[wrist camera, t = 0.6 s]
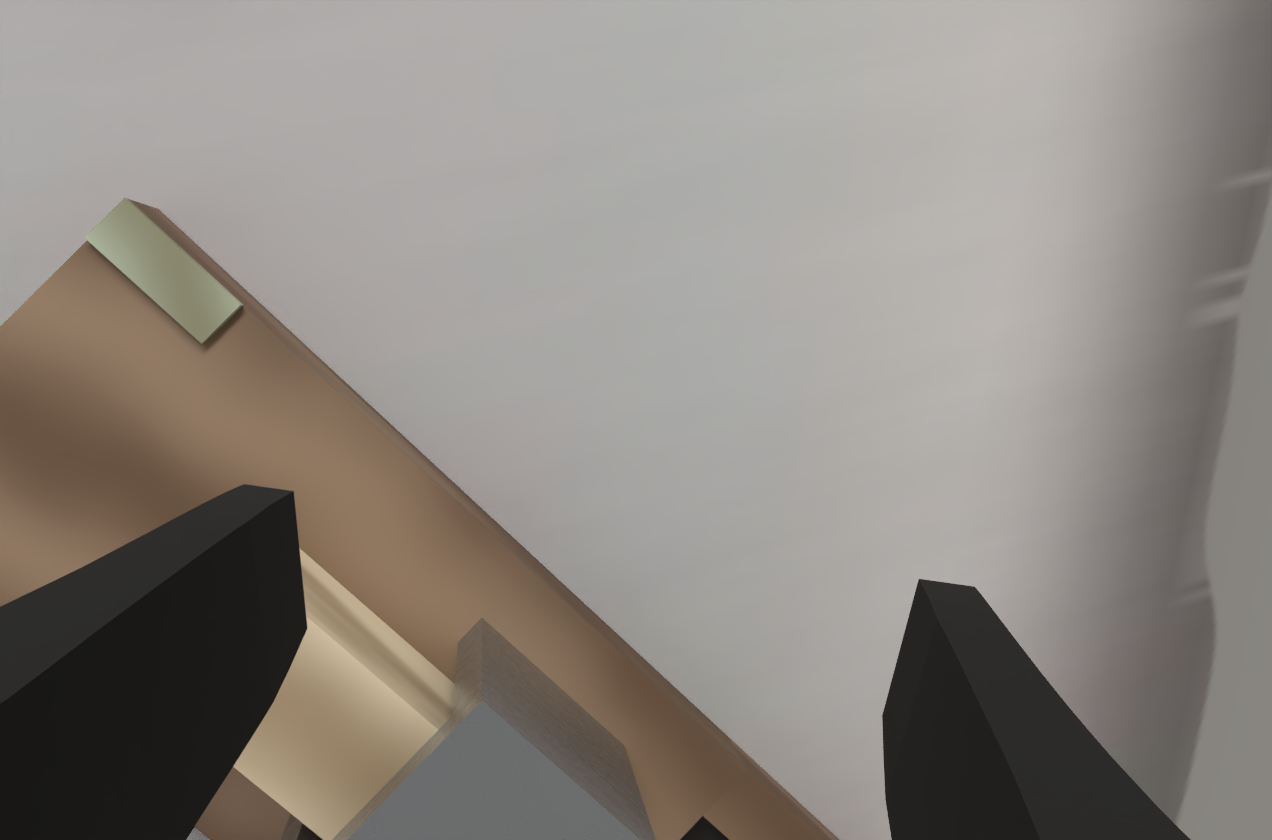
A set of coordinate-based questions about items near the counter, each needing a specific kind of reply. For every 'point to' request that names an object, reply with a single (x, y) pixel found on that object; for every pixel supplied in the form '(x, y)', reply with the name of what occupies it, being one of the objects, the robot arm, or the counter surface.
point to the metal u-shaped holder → (505, 765)
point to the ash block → (343, 711)
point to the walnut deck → (307, 506)
